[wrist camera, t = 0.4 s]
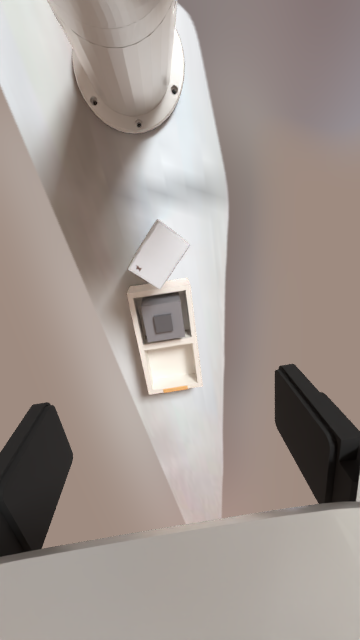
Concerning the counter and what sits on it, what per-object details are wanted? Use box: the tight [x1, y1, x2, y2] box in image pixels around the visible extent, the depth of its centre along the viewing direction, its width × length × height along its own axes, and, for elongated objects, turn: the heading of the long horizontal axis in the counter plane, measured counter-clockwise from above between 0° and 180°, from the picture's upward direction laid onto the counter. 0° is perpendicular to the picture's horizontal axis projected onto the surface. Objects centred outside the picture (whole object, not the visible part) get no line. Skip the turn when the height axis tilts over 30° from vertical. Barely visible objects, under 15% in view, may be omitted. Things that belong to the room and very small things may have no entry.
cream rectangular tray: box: [127, 278, 203, 395], centre depth 43 cm, size 18×9×4 cm, turn 8°
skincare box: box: [128, 219, 190, 289], centre depth 34 cm, size 6×4×12 cm
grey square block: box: [141, 292, 185, 342], centre depth 40 cm, size 6×6×5 cm
